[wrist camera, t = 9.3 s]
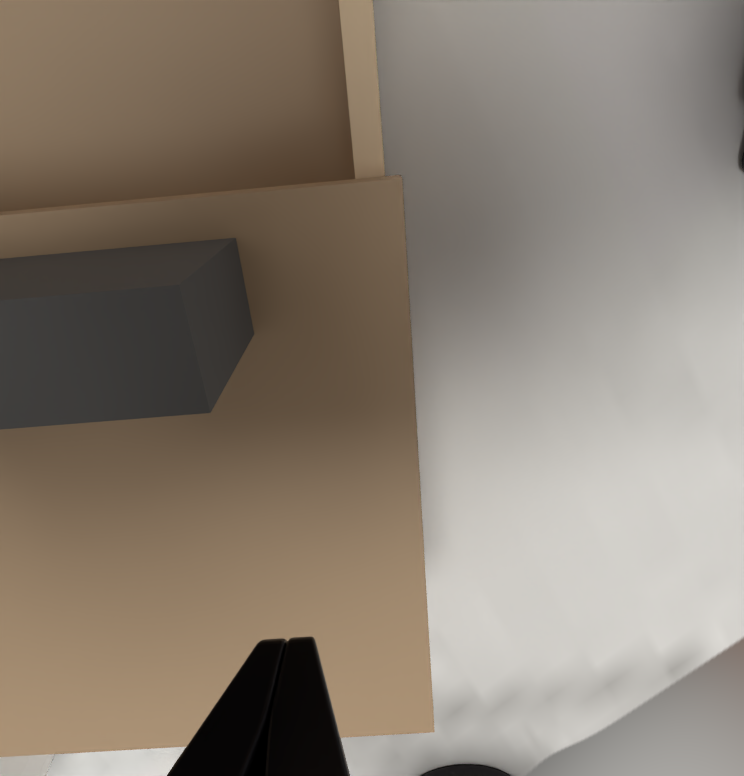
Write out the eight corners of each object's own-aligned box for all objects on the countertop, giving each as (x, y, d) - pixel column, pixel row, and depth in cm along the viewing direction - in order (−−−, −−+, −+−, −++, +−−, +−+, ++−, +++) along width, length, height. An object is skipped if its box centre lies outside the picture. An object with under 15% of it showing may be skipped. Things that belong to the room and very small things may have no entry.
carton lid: (400, 174, 11) (417, 201, 7) (431, 707, 18) (449, 866, 14) (-477, 256, 11) (-911, 322, 8) (-109, 739, 19) (-235, 900, 15)
